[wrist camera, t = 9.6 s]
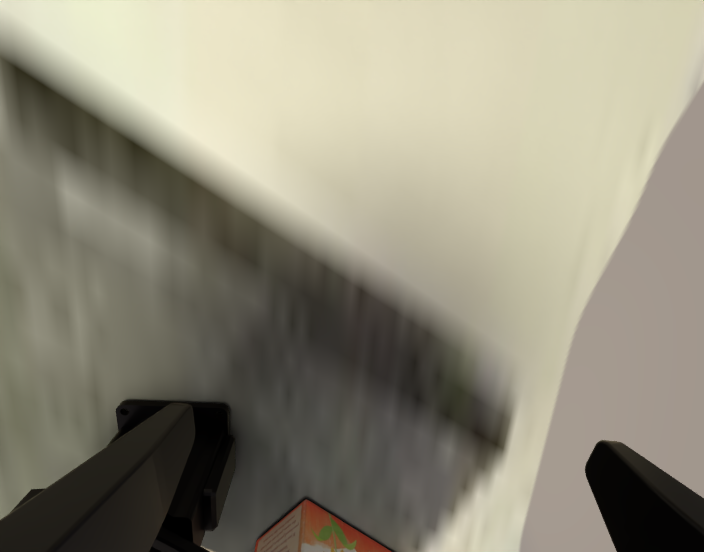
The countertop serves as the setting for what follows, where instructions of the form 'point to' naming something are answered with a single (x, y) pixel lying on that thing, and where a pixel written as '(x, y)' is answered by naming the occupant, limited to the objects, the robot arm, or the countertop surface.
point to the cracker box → (314, 534)
